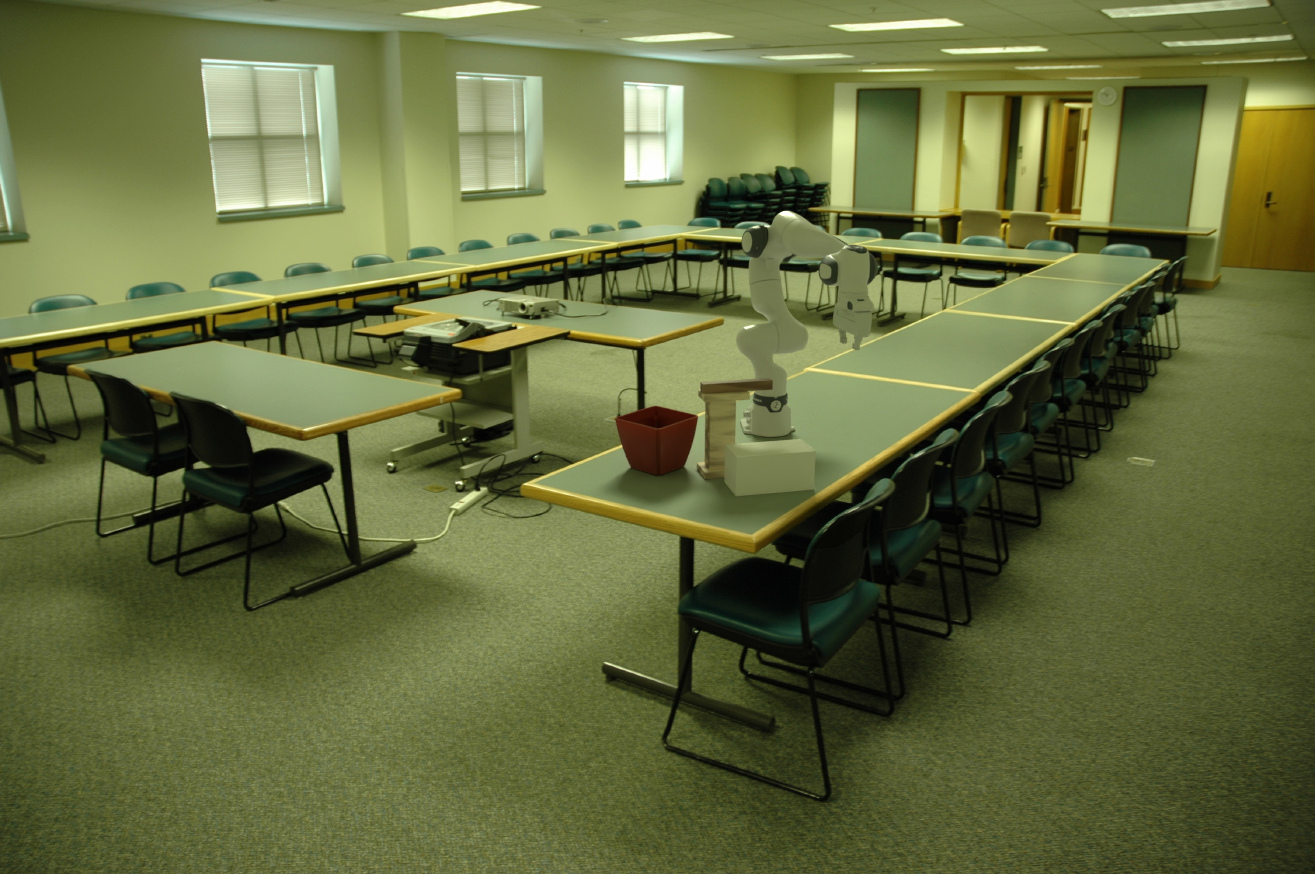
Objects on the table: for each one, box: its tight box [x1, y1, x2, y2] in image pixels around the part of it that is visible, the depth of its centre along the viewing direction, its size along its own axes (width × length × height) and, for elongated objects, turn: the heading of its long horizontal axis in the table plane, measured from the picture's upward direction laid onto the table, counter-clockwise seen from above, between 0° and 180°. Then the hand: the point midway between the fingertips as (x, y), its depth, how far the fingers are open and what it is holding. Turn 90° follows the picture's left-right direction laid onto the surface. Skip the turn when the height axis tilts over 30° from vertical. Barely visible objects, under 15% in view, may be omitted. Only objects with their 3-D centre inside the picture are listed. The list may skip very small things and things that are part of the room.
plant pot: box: [614, 405, 699, 477], centre depth 289 cm, size 19×19×17 cm
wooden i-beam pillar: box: [696, 388, 751, 480], centre depth 283 cm, size 10×14×26 cm
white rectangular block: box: [723, 438, 817, 497], centre depth 273 cm, size 12×24×12 cm, turn 102°
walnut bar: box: [699, 378, 773, 394], centre depth 280 cm, size 3×22×3 cm, turn 102°
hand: (849, 346), depth 278 cm, fingers open, 8 cm apart
